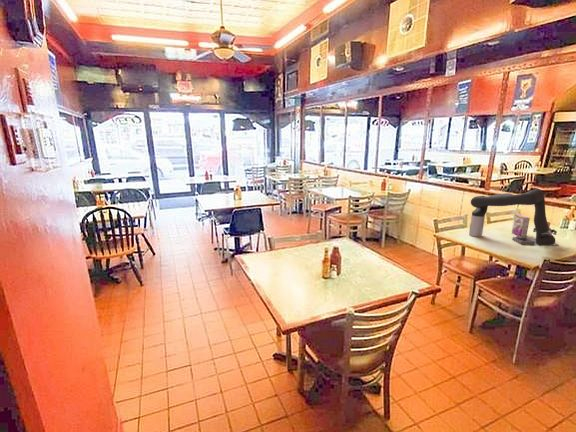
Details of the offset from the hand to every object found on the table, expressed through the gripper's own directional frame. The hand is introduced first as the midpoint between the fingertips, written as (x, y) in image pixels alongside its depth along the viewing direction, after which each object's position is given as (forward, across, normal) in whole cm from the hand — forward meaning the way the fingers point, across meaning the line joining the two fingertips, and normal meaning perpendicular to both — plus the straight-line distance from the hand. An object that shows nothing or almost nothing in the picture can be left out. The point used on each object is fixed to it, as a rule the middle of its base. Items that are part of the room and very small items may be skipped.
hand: (544, 228), depth 239 cm
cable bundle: (-3, 0, +8) cm, 9 cm away
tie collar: (-9, +12, +10) cm, 19 cm away
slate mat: (-3, 0, +10) cm, 11 cm away
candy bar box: (+9, +15, +11) cm, 20 cm away
